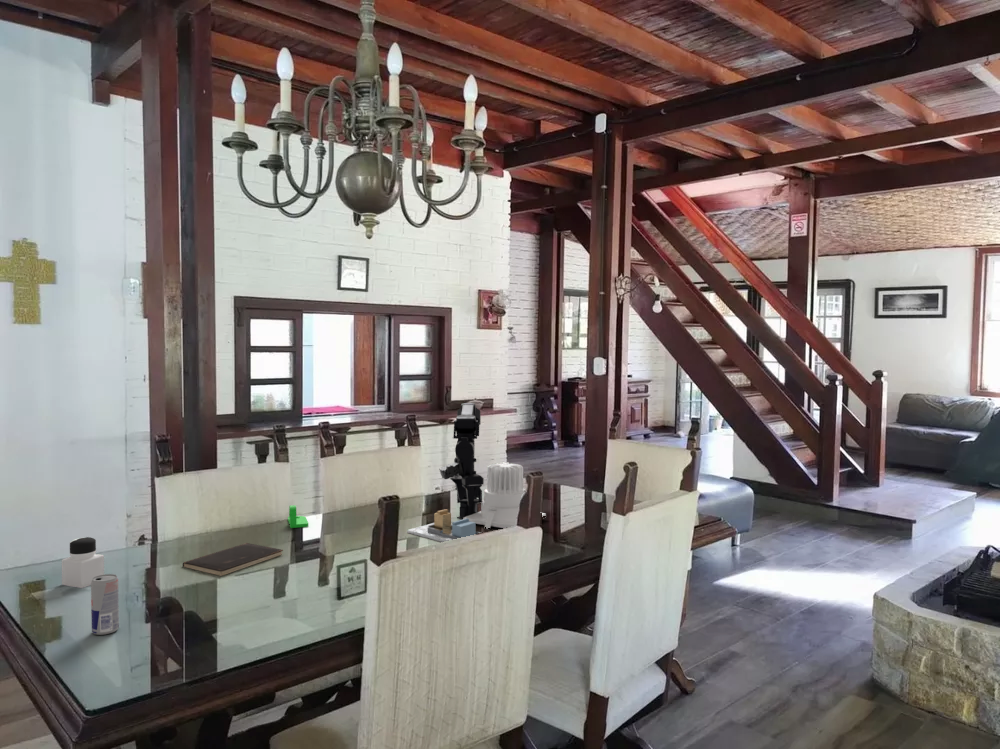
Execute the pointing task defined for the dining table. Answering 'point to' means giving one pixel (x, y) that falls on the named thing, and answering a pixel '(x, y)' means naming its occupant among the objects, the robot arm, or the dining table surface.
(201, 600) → the dining table surface
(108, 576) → the energy drink
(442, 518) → the block
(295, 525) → the mechanical part
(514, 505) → the recessed light fixture
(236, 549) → the hardcover book
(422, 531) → the seat jig
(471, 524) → the block
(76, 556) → the medicine bottle
